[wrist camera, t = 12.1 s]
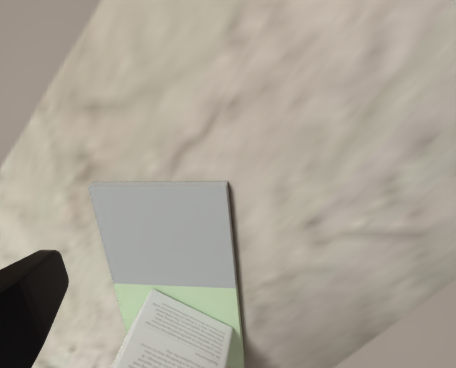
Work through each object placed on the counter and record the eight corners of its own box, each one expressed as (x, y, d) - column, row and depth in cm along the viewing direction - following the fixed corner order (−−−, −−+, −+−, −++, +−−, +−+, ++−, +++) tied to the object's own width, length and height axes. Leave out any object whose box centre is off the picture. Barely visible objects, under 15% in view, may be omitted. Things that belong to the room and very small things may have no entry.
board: (227, 181, 23) (225, 186, 23) (244, 361, 29) (243, 368, 29) (92, 182, 25) (88, 186, 24) (136, 353, 31) (133, 359, 30)
